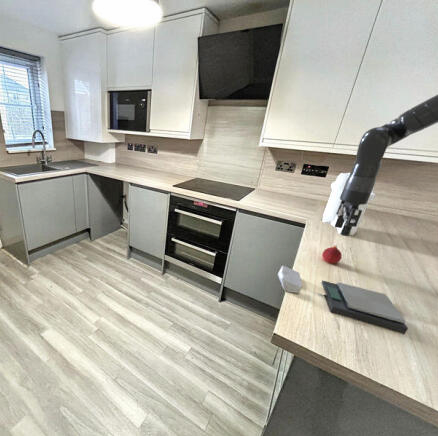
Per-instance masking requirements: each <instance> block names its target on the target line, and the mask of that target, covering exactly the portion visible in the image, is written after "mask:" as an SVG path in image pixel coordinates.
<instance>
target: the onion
mask: <svg viewBox="0 0 438 436" xmlns="http://www.w3.org/2000/svg"><path fill="white" fill-rule="evenodd" d="M342 255H343V254H342V251H340V250H339V248H338V246H337V245H336V244H335V245H333V246H331V247H327V248H325V249H324V250H323V252H322V259H323V260H324V262H326V263H328V264H332V265H333V264H334V265H335V264H338V263H339V262H340V261H341V260H342Z"/></svg>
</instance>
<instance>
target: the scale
mask: <svg viewBox="0 0 438 436" xmlns="http://www.w3.org/2000/svg"><path fill="white" fill-rule="evenodd" d="M336 284H337V283H334V282H331V281H327V280H326V281H325V280H321V285H322V287H323V291H324V294H323V297H324V298H325V301H326V305H327V306H328V310H329V311H330V312H329V313H331V314H335V315H337V316H338V315H339V316H342V317H345V318H349V319H353V320H355V321H359V322H362V323H366V324H369V325H373V326H376V327H379V328H383V329H386V330H390V331H392V332H397V333H400V334H403V335H405V334H406V333H407V331H408V329H409V327H408V326H407V324H406V322H405V323H404V324H403V323H400V322H396V321H392V320H389V319H385V318H382V317H378V316H375V315H371V314H368V313H364V312H361V311H357V310H354V309H350V308H347V306H346V304H345V302H344V299H343V297H342V295H341V293H340V291H339V289H338V287H337V285H336Z"/></svg>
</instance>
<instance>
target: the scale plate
mask: <svg viewBox="0 0 438 436" xmlns="http://www.w3.org/2000/svg"><path fill="white" fill-rule="evenodd" d="M335 284H336V285H337V287H338V289H339V291H340V293H341V295H342V297H343V299H344V302H345V304H346V306H347V308H350V309H354V310H357V311H361V312H364V313H368V314H371V315H375V316H378V317H382V318H385V319H389V320H392V321H396V322H400V323H403V324H404V323H405V324H406V319H405V318H404V317H403V315H402V314H401V312H399V311H400V310H398V308H396V306H395V304H394V303H393V302H392V301H391V299H390V298H389V297H388V295H387V294H386V293H382V292H378V291H374V290H371V289H368V288H363V287H360V286H359V287H358V286H355V285H351V284H347V283H343V282H339V281H337V282H336V283H335Z"/></svg>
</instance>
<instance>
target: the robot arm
mask: <svg viewBox="0 0 438 436" xmlns="http://www.w3.org/2000/svg"><path fill="white" fill-rule="evenodd" d="M435 124H438V94H436V95H434V96H432V97H430V98H428V99H426V100H424V101H423V102H421V103H419V104H416V105H415V106H413V107H411V108H410V109H407V110H406V111H404V112H402V113H400V115H399V116H398V117H396V118H395V119H392V120H391V121H389V122H387V123H386V124H383V125H381V126H377V127H373V128H370V129H368V130H367V131H365V133H363V135H362V136H361V138H360V141H359V142H358V147H357V151H356V156H355V160H354V162H353V165H352V166H351V170H350V172H349V173H350V175H349V177H348V179H347V181H346V183H345V186H344V188H343V191H342V194H341V196H340V200H342V201H341V203H340V206H339V208H338V211H337V213H336V214H337V217H338V218H337V220H336V223H335V227H334V228H336V229H337V228H342V226H343V223H344V226H343V229H342V231H341V234H340V235H341V236H342V237H343V236H344V237H349V236H350V235H349V234H350V231H351V229H352V227H356V226H357V223H358V220H359V218H360V215H361V213H362V210H359V209H358V207H359V205H361V204H362V205H364V204H367V202H368V199H369V197H370V194H371V192H372V190H373V187H374V188H375V186H374V185H376V181H377V177H378V175H379V173H380V171H381V168H382V164H383V162H382V160H383V158H384V156H385V153H386V151H387V149H388V148H389V147H390V146H391V147H392V146H393V145H394V144H397V143H399V142H400V141H402V140H404V139H406V138H407V137H409V136H411V135H413V134H416V133H418V132H421V131H423V130H425V129H427V128H430V127H431V126H433V125H435ZM373 191H374V190H373ZM344 221H345V222H344ZM350 221H351V222H350Z"/></svg>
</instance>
